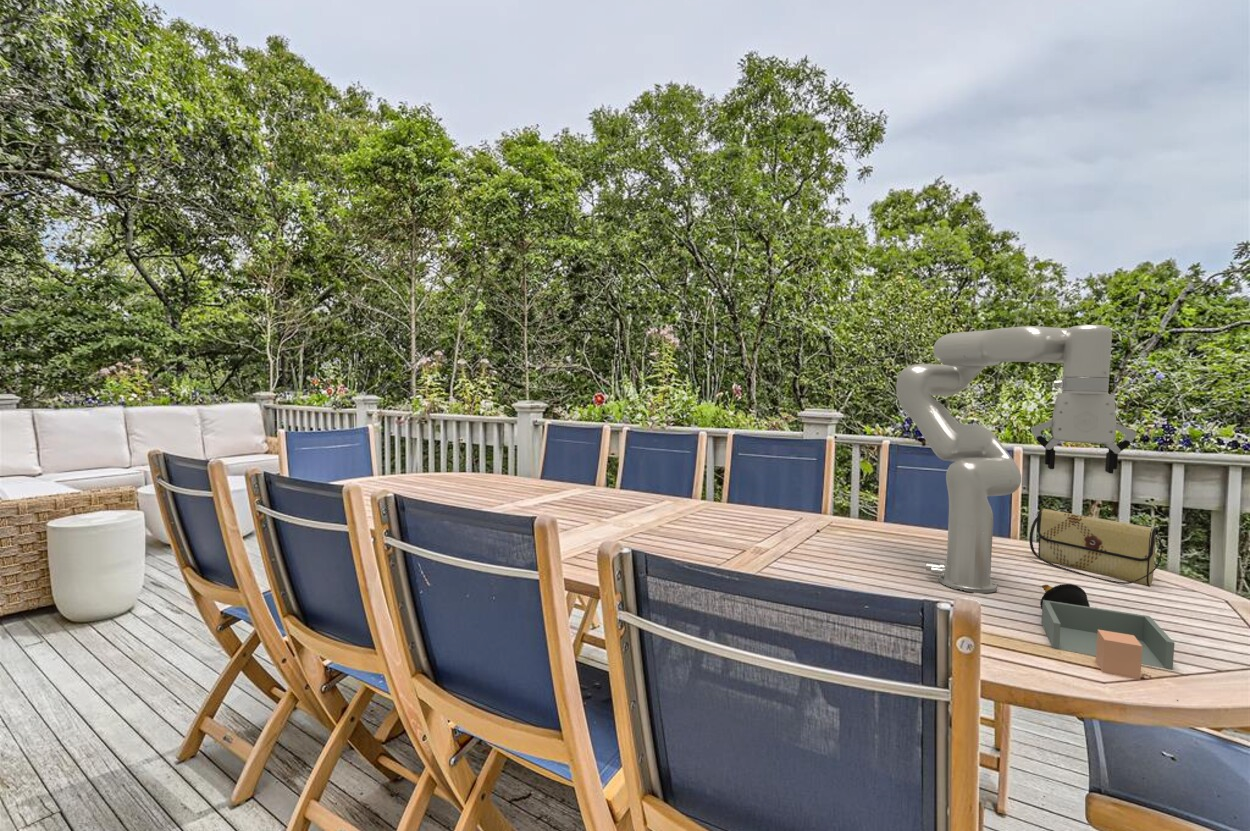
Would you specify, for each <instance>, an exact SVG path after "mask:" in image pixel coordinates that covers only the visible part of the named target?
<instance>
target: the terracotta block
mask: <svg viewBox="0 0 1250 831" xmlns="http://www.w3.org/2000/svg"><path fill="white" fill-rule="evenodd" d="M1141 661H1142V645H1141V644H1140V642H1139V641H1138V640H1137V639H1136V637H1135V636H1134V635H1129V634H1122V633H1116V632H1110V631H1104V630H1098V632H1097V648H1096V656H1095V662H1096V664H1097V665H1098V667H1099V669H1100V670H1101V672H1102V673H1103V674H1108V675H1109V674H1110V675H1115V676H1120V677H1125V678H1130V679H1136V680H1141V676H1142V675H1141V674H1142V664H1141Z"/></svg>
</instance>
